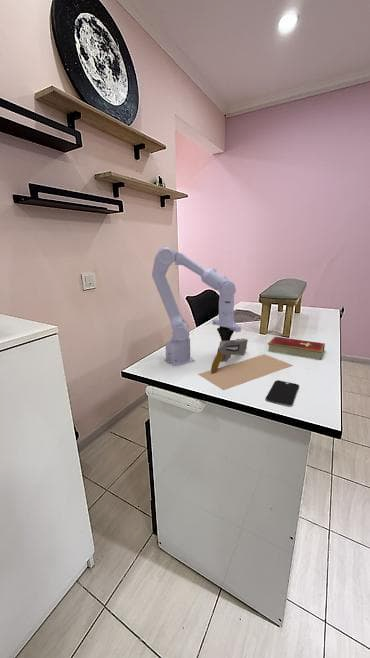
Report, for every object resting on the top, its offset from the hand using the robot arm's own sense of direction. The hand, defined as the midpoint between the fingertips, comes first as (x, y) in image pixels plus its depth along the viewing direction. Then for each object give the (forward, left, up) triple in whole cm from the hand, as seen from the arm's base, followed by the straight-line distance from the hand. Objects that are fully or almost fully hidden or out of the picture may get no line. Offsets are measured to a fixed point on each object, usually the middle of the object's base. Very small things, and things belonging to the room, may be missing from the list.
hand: (225, 345), depth 110 cm
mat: (0, -12, -6) cm, 14 cm away
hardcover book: (+31, -10, -7) cm, 33 cm away
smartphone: (-3, -31, -6) cm, 32 cm away
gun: (0, -3, -6) cm, 7 cm away
